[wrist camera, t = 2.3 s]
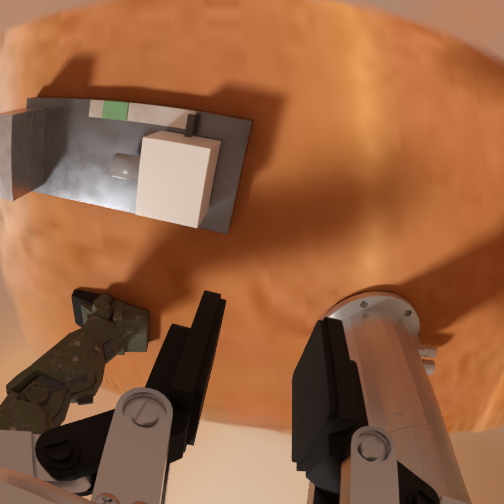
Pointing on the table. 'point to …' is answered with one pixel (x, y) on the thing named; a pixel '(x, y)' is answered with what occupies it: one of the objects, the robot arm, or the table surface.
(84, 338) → the mechanical leg
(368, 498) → the robot arm
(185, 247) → the table surface
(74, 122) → the gauge base
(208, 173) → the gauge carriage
